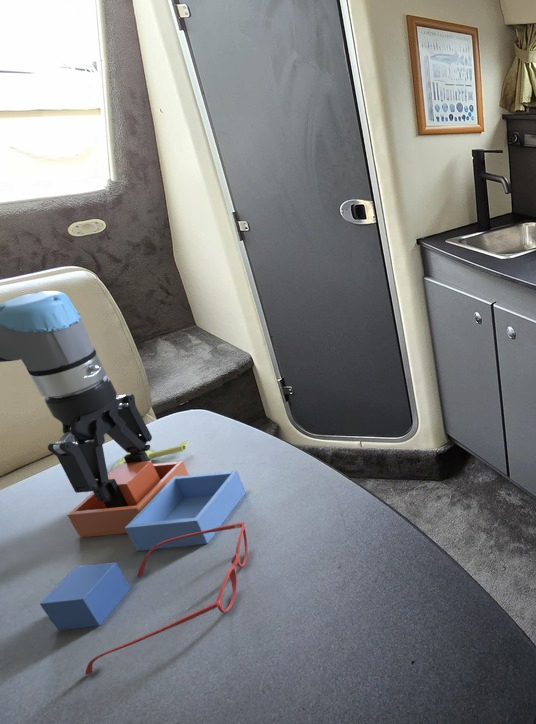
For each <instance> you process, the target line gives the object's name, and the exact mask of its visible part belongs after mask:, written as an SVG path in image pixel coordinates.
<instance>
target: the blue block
mask: <svg viewBox="0 0 536 724" xmlns="http://www.w3.org/2000/svg"><path fill="white" fill-rule="evenodd" d="M131 589H132V588H131V586H130V584H129V583H128V581H127V579H126V578H125V576H124V574H123V572H122V570H121V569H120V566H119V565H118V564H117V562H109V563H98V564H90V565H79V566H75V567H74V568H73V569H72V570H71V571H70V572H69V573H68V574H67V575H66V576H65V577H64V578H63V580H61V581H60V582H59V583H58V585H57V586H56V587H54V589H53V590H51V591H50V593H48V595H46V597H45V598H44V599H43V600H42V601H40V603H39V605H40V607H41V609H43V611H44V613H45V614H46V616H47V617H48V618H49V620H50V621H51V623H52V624H53V625H54V627H55V629H56V630H57V631H66V630H75V629H84V628H85V629H86V628H91V627H92V628H93V627H94V628H95V627H100V626H101V625H102V624H103V623H104V621H105V620H106V619H107V618H108V617H109V616H110V614H111V613H112V612H113V611H114V610H115V608H116V607H117V606H118V605H119V604H120V602H121V601H122V599H124V597H126V595H127V594H128V593H129V591H130V590H131Z"/></svg>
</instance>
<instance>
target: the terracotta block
mask: <svg viewBox="0 0 536 724" xmlns="http://www.w3.org/2000/svg"><path fill="white" fill-rule="evenodd" d="M153 464H154V463H153V461H152V460H151V461H144V462H134V463H126V462H125V463H124V464H118V465H117V466H116V467H115V468H114V469H113V468H112V469H113V470H110V471H109V472H107V474H108V479H115V481H116V483H117V485H118V487H119V489H120V491H121V493H122V494H123V496H124V498H125V500H126V502H127V504H128V506H136V505H137V504H138V503H139V502H140V501H141V500H142V499H143V498H144V497H145V496H146V495H147V494H148V493H149V492H150V491H151V490H152V489H153V488H154V487H155V486H156V485H157V484H158V483H159V482H160V481H161V480H160V478H159V476H158V474H157V472H156V470H155V468H154V466H153ZM101 504H102V506H103V507H104V509H106V506H105V504H104V502H101Z"/></svg>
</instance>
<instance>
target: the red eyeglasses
mask: <svg viewBox="0 0 536 724" xmlns="http://www.w3.org/2000/svg"><path fill="white" fill-rule="evenodd" d="M233 529H240V532H239V536H238V540H237V544H236V550H235V553H234V555H233V558H232V559H231V566H230V567H229V568H228V570H227V573H226V575H225V577H224V580H223V582H222V585H221V587H220V590H219V592H218V595H217V598H216V600H215V602H213V603H211V604H209V605H207V606H204V607H203V608H200V609H199V610H197V611H194V612H192V613H190V614H188V615H186V616H184V617H182V618H180V619H177V620H176V621H174V622H172V623H170V624H168V625H165V626H163V627H161V628H158V629H156V630H154V631H152V632H149V633H147V634H145V635H143V636H140V637H138V638H135V639H134V640H132V641H128V642H126V643H124V644H122V645H119V646H116V647H114V648H112V649H109V650H107V651H105V652H102V653H101V654H98V655H96V656H95V657H93V658H92V659H91V660H90V661H89V662H88V663H87V666H86V669H85V672H84V674H85V675H90V674H93V670H94V669H93V664H94V663H95V661H97V660H98V659H100V658H102V657H104V656H106V655H108V654H110V653H111V654H112V653H113V652H116V651H119V650H121V649H124V648H126V647H129V646H132V645H134V644H136V643H137V644H138V643H139V642H142V641H143V640H146V639H149V638H150V637H153V636H155V635H157V634H160V633H162V632H165V631H167V630H169V629H172V628H174V627H177V626H179V625H181V624H184V623H186V622H188V621H191V620H192V619H193V620H194V619H195V618H197V617H199V616H201V615H203V614H206V613H208V612H210V611H212V610H214V609H218V610H219V612H220V613H223V614H224V613H228V612H229V611H230V610H231V608H232V607H233V605H234V603H235V600H236V596H237V595H236V594H237V587H238V586H237V585H238V578H237V577H238V576H237V569H236V568H237V567H239V568H243V567H244V566H245V565H246V563H247V559H248V538H247V531H246V523H245V522H244V521H242V522H237V523H231V524H226V525H221V526H220V527H217V528H213V529H209V530H205V531H200V532H196V533H191V534H187V535H183V536H179V537H175V538H171V539H168V540H165V541H163V542H161V543H159V544H157V545H156V546H154V547H153V548H152V549H150V550H147V553H146V554H145V555H144V557H143V559H142V561H141V563H140V566H139V568H138V571H137V573H136V577H141V576H142V575H143V574H144V572H145V568H146V565H147V561H148V559H149V556H150V555H151V554H152V552H154V551H155V550H156V549H155V548H157V547H158V546H160V545H162V544H164V543H167V542H170V541H174V540H178V539H182V538H186V537H190V536H195V535H200V534H205V533H210V532H216V533H217V532H221V531H227V530H228V531H229V530H233ZM242 538H243V542H244V543H243V545H244V554H243V555H244V556H243V561H242V563H241V561H240V549H241V542H242ZM228 579H229V580H230V583H231V588H232V596H231V600H230V603H229V605H228V606H227V607H226V609H225V608H224V606H223V595H224V591H225V588H226V585H227V582H228Z"/></svg>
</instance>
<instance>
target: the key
mask: <svg viewBox="0 0 536 724" xmlns="http://www.w3.org/2000/svg"><path fill="white" fill-rule="evenodd" d="M189 443H190V441H189V440H186V441H184V440H183V441H181V443H180V444H179V445H177V446H173V447H169V448H165V449H160V450H157V451H151V450H150V449H149V450H148V451H145V452H146V454H147V456H148V458H149V460H150V461H151V462H152V461H153V459H156V458H161V457H164V456H168V455H173V454H177V453H181V452H184V451H186V450H187V446H188V444H189ZM127 454H130V453H126V454H125V455H124V456H122V457H121V458H120V459H119V460H118V461H117V462H116V464H115V465H113V467H112V470H113V469H114V468H115V467H116V466H117V465H118V464H124V463H126V461H125V459H124V457H125V456H126V455H127Z"/></svg>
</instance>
